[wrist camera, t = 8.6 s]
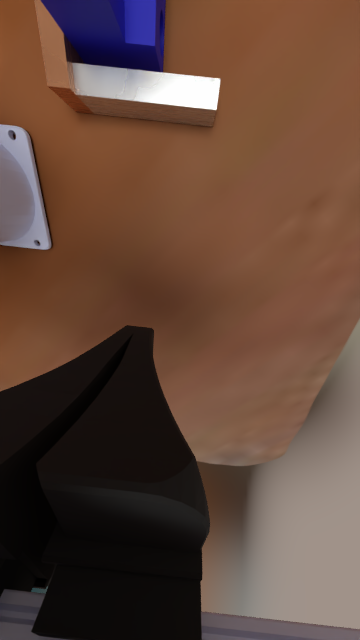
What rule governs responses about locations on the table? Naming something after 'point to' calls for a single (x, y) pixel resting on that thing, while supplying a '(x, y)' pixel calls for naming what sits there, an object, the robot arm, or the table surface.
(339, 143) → the table surface
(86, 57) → the cable clip
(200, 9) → the table surface
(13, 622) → the robot arm
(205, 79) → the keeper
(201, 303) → the table surface
